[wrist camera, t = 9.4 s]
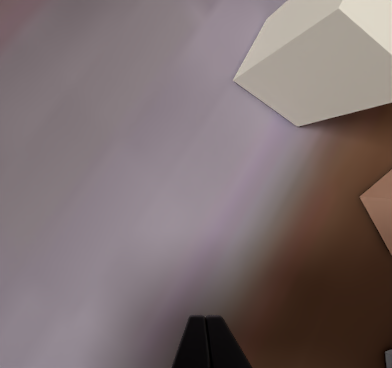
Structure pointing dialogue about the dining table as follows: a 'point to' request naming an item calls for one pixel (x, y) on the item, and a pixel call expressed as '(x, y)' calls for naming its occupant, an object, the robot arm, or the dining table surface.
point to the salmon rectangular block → (381, 207)
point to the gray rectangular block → (388, 358)
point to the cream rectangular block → (322, 59)
